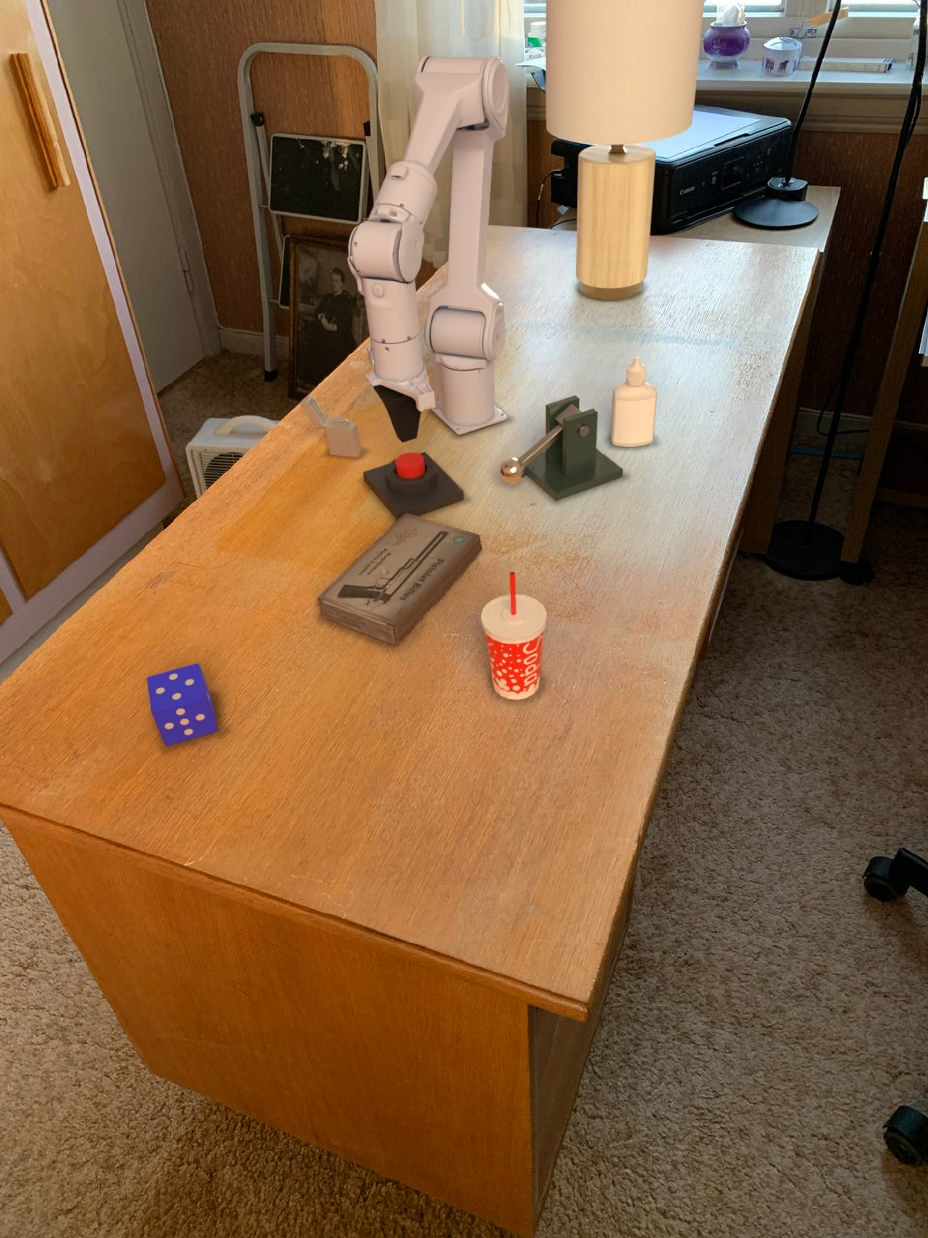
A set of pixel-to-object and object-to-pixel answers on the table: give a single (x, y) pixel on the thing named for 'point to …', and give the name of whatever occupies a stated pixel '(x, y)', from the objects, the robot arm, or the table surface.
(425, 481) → the button box
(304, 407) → the lighter
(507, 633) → the beverage cup
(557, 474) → the bracket
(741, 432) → the table surface
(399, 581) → the box
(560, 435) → the lever
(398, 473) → the button
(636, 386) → the eye dropper bottle
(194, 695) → the die
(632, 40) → the lamp
